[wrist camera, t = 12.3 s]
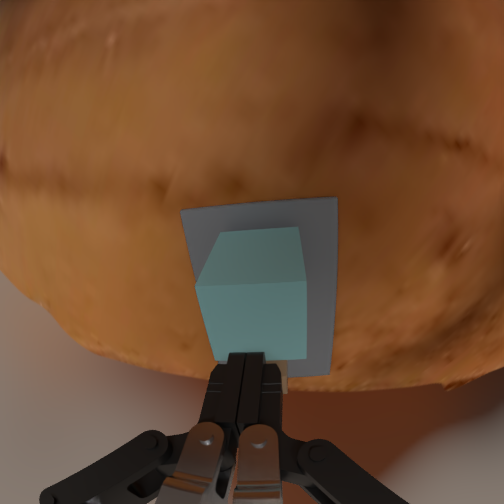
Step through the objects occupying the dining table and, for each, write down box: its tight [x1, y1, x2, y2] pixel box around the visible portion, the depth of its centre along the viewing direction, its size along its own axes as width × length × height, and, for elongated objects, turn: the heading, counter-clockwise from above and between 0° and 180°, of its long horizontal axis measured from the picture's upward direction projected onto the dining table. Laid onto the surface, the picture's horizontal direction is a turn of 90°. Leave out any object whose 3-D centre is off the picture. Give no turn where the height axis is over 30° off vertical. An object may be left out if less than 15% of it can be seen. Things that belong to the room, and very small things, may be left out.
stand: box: [180, 197, 338, 394], centre depth 20 cm, size 18×11×7 cm, turn 7°
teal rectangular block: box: [195, 227, 307, 361], centre depth 17 cm, size 5×5×7 cm
